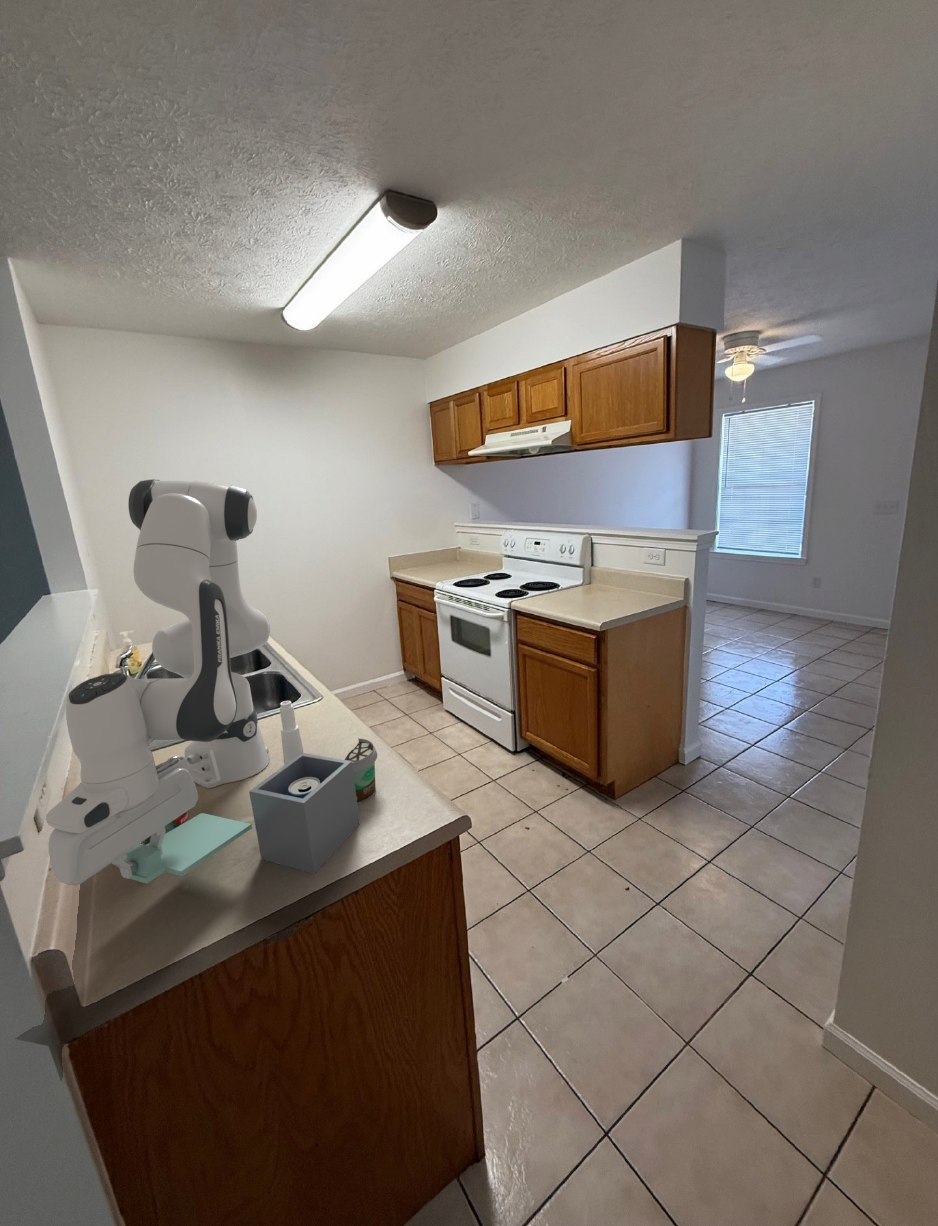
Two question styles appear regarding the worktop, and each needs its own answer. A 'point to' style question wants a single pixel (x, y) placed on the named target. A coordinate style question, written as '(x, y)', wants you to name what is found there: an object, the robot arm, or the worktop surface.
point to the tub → (305, 812)
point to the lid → (185, 846)
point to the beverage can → (303, 787)
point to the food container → (363, 768)
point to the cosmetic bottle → (290, 733)
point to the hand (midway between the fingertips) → (143, 865)
